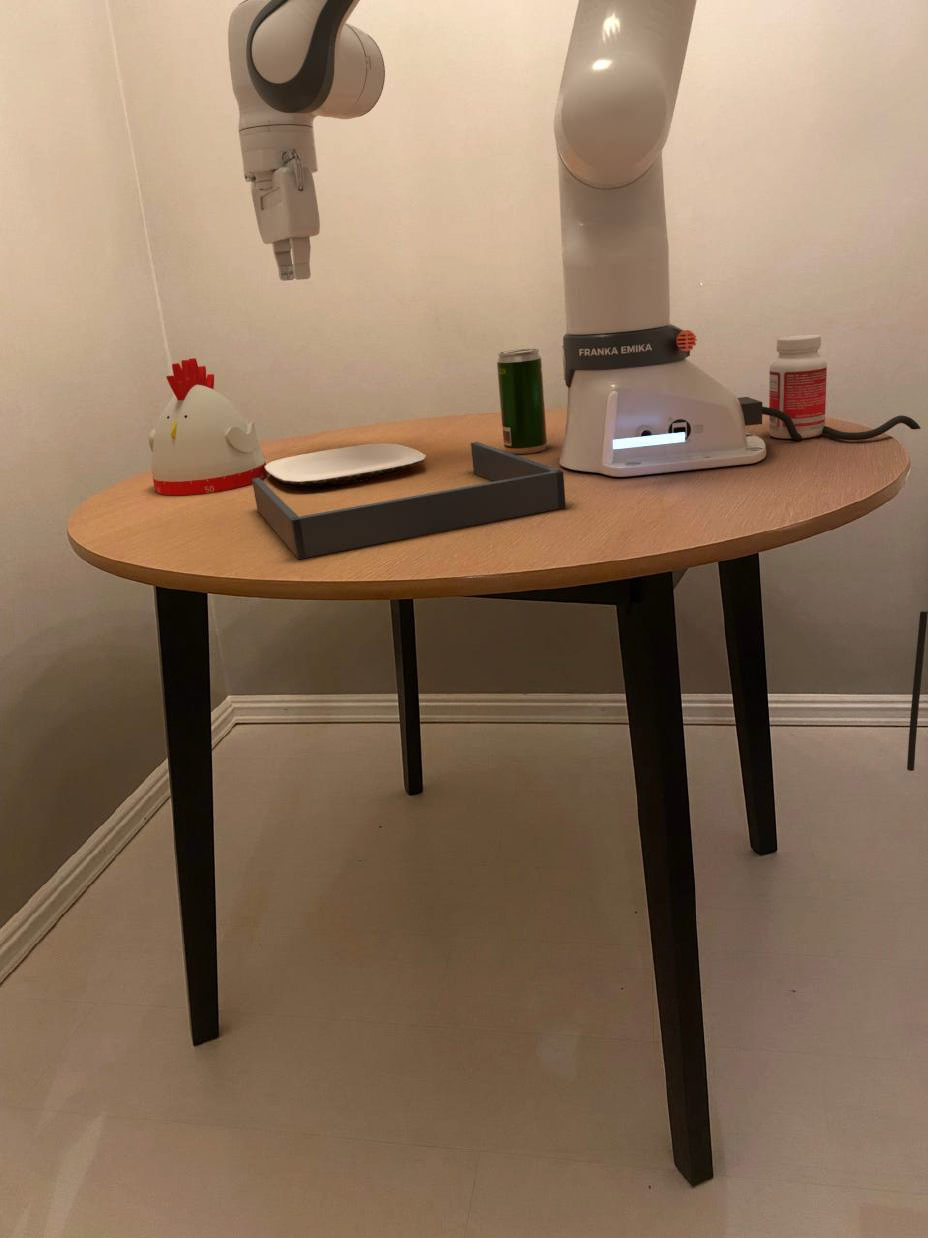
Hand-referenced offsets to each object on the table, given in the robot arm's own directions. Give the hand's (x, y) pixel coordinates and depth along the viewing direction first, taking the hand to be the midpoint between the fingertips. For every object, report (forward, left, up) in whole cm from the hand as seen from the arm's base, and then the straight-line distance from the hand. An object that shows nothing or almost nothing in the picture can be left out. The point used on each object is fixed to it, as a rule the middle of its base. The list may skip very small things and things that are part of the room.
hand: (294, 279), depth 118 cm
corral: (-18, +30, -23) cm, 42 cm away
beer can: (-28, +3, -23) cm, 36 cm away
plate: (-6, +10, -23) cm, 26 cm away
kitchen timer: (+11, +10, -23) cm, 28 cm away
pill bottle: (-60, +5, -23) cm, 64 cm away
